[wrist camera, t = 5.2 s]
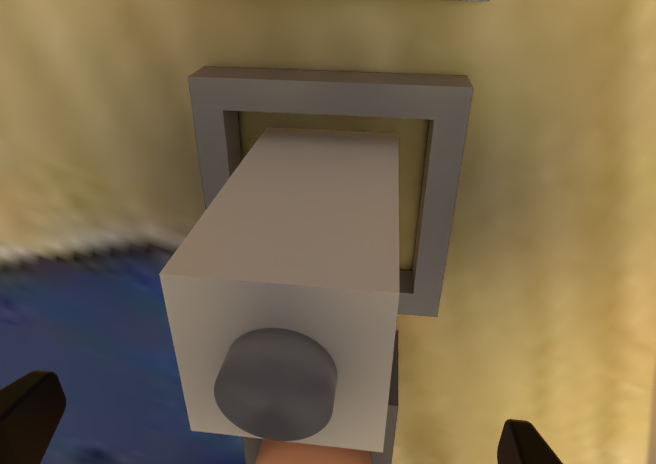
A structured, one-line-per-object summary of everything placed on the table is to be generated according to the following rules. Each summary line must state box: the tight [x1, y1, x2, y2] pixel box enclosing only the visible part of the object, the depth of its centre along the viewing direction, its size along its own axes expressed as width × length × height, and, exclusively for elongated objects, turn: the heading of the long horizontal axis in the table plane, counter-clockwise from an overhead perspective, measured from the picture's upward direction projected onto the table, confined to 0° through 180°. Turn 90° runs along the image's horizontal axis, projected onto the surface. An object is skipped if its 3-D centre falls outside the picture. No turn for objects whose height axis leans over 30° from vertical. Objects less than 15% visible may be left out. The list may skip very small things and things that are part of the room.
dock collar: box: [188, 66, 474, 317], centre depth 17 cm, size 9×9×2 cm
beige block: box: [159, 127, 399, 452], centre depth 14 cm, size 5×5×10 cm
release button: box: [255, 439, 371, 464], centre depth 19 cm, size 4×4×5 cm
